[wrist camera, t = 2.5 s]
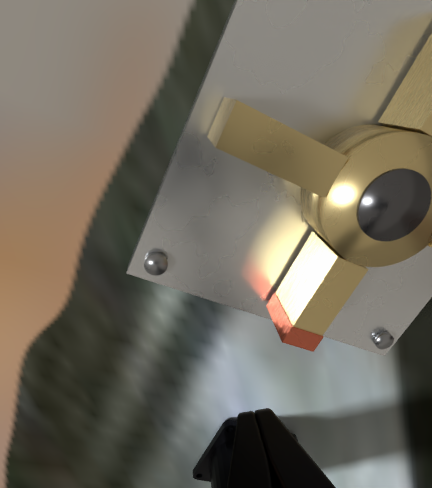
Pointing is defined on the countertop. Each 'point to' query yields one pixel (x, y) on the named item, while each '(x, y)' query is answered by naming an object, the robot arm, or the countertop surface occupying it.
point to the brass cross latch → (343, 197)
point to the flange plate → (271, 186)
